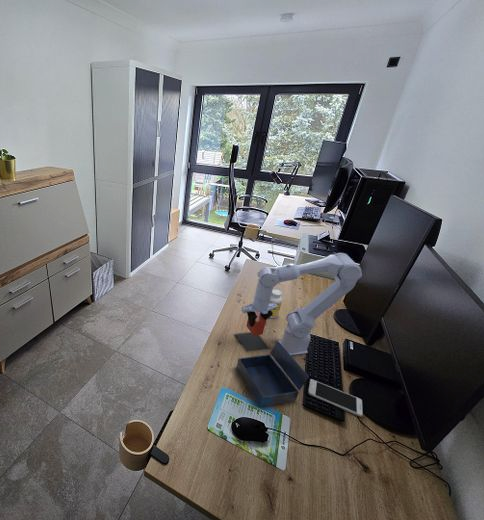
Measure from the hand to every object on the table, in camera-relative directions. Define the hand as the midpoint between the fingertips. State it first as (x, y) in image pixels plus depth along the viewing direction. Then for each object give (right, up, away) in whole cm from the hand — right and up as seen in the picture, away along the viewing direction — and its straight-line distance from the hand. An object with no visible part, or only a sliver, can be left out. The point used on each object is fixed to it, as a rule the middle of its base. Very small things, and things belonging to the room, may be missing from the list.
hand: (255, 324), depth 118 cm
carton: (-3, -18, -15) cm, 24 cm away
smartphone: (+19, -21, -19) cm, 34 cm away
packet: (0, -3, +1) cm, 3 cm away
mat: (0, -8, +5) cm, 10 cm away
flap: (+4, -10, -18) cm, 21 cm away
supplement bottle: (+16, 0, +22) cm, 27 cm away
